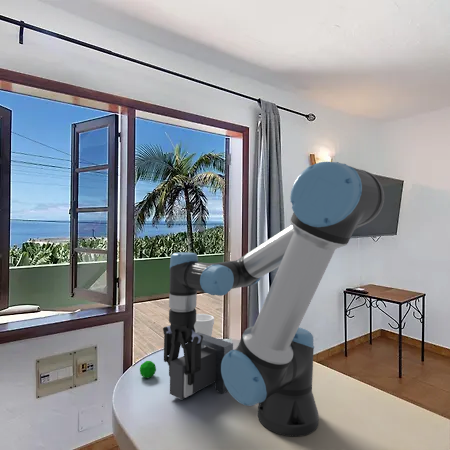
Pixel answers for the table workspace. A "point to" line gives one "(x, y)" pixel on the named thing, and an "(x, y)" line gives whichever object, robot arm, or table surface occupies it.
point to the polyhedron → (147, 369)
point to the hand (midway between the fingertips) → (181, 391)
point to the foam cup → (204, 324)
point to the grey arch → (217, 357)
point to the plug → (200, 378)
